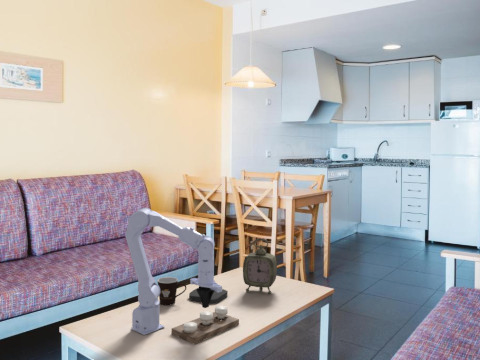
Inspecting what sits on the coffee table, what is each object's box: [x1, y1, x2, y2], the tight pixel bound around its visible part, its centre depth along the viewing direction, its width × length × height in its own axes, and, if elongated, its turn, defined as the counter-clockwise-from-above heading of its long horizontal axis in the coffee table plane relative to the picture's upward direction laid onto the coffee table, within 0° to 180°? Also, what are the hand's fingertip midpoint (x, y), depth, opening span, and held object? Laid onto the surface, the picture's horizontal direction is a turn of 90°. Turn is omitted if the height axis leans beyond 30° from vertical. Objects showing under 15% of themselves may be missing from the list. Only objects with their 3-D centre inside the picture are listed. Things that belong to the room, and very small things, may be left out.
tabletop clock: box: [242, 238, 278, 295], centre depth 207 cm, size 14×9×25 cm, turn 73°
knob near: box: [183, 321, 197, 333], centre depth 158 cm, size 5×5×4 cm
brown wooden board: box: [171, 311, 240, 345], centre depth 164 cm, size 23×12×2 cm, turn 139°
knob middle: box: [199, 310, 213, 325], centre depth 164 cm, size 5×5×4 cm
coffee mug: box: [156, 276, 187, 306], centre depth 190 cm, size 12×9×10 cm
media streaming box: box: [188, 288, 228, 305], centre depth 199 cm, size 15×15×3 cm
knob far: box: [214, 305, 228, 319], centre depth 170 cm, size 5×5×4 cm
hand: (205, 307), depth 163 cm, fingers closed
